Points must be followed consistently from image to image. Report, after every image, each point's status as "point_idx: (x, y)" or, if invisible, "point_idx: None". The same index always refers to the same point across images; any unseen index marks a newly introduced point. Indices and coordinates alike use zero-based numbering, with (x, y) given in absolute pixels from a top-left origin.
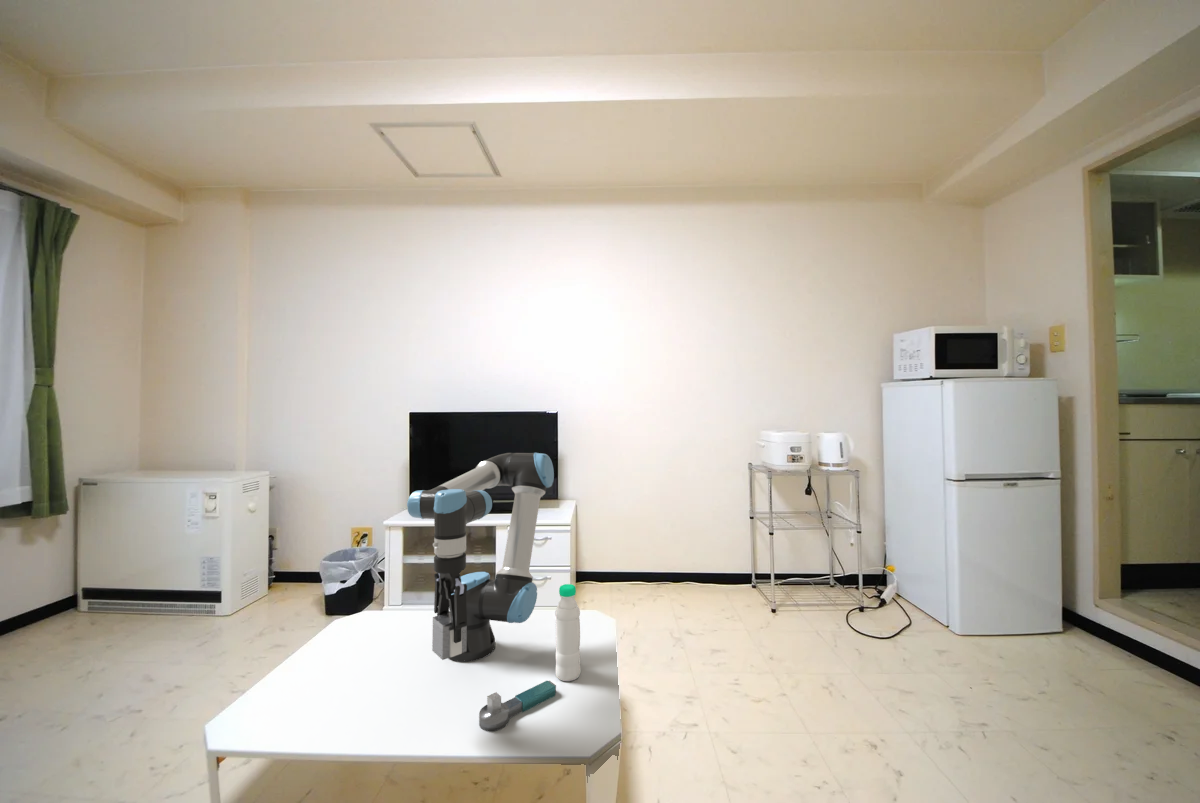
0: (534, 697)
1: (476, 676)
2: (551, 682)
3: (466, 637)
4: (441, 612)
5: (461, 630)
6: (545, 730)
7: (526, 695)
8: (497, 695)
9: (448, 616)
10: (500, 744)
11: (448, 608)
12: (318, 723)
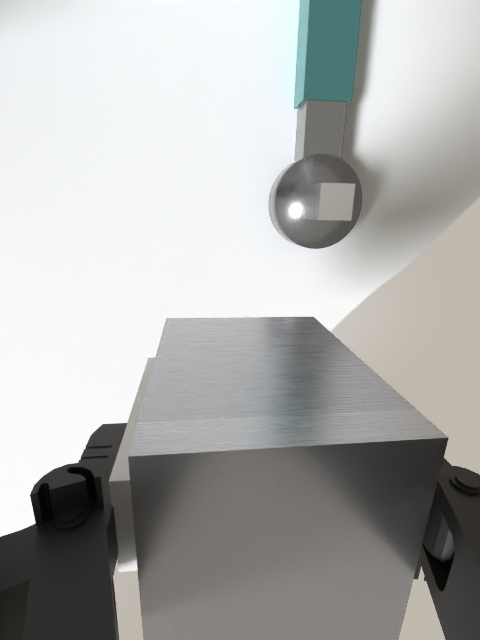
0: (355, 46)
1: (34, 106)
2: None
3: (345, 346)
4: (117, 629)
5: (450, 464)
6: (446, 114)
7: (332, 64)
8: (341, 190)
9: (250, 570)
10: (391, 239)
11: (109, 593)
12: (15, 518)
